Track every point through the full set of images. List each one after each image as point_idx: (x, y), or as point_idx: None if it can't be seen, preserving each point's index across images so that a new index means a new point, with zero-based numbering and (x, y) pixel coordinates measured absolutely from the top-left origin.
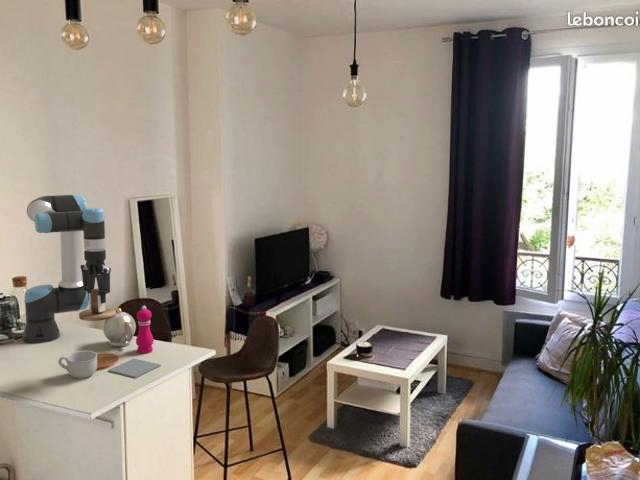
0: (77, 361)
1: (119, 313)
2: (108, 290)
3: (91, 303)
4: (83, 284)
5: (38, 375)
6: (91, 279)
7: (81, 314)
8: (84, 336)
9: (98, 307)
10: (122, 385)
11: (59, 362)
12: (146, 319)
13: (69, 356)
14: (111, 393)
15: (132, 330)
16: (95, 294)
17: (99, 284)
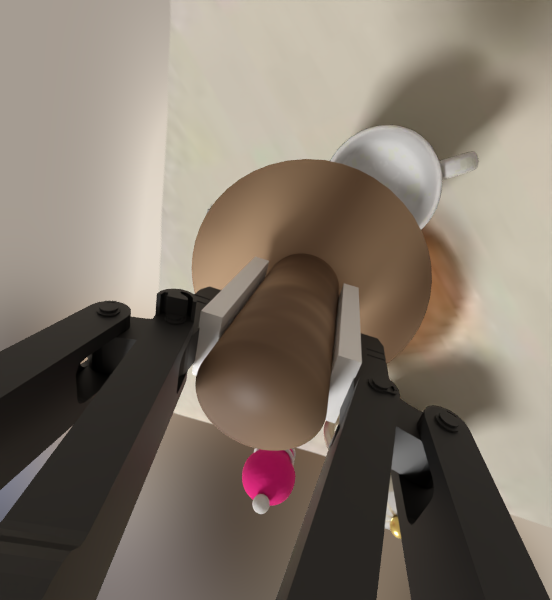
0: (414, 216)
1: (391, 511)
2: (91, 367)
3: (322, 292)
4: (486, 490)
5: (547, 136)
6: (299, 557)
7: (394, 224)
8: (531, 472)
9: (255, 269)
10: (214, 147)
11: (468, 152)
12: (253, 453)
13: (436, 181)
14: (208, 76)
15: (324, 435)
16: (245, 321)
17: (103, 396)
